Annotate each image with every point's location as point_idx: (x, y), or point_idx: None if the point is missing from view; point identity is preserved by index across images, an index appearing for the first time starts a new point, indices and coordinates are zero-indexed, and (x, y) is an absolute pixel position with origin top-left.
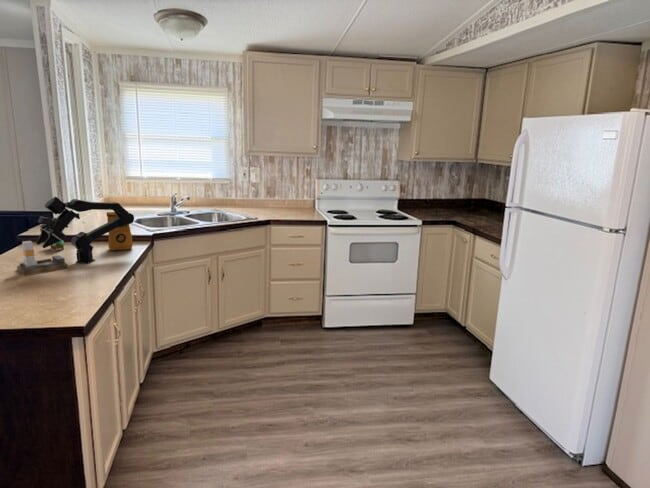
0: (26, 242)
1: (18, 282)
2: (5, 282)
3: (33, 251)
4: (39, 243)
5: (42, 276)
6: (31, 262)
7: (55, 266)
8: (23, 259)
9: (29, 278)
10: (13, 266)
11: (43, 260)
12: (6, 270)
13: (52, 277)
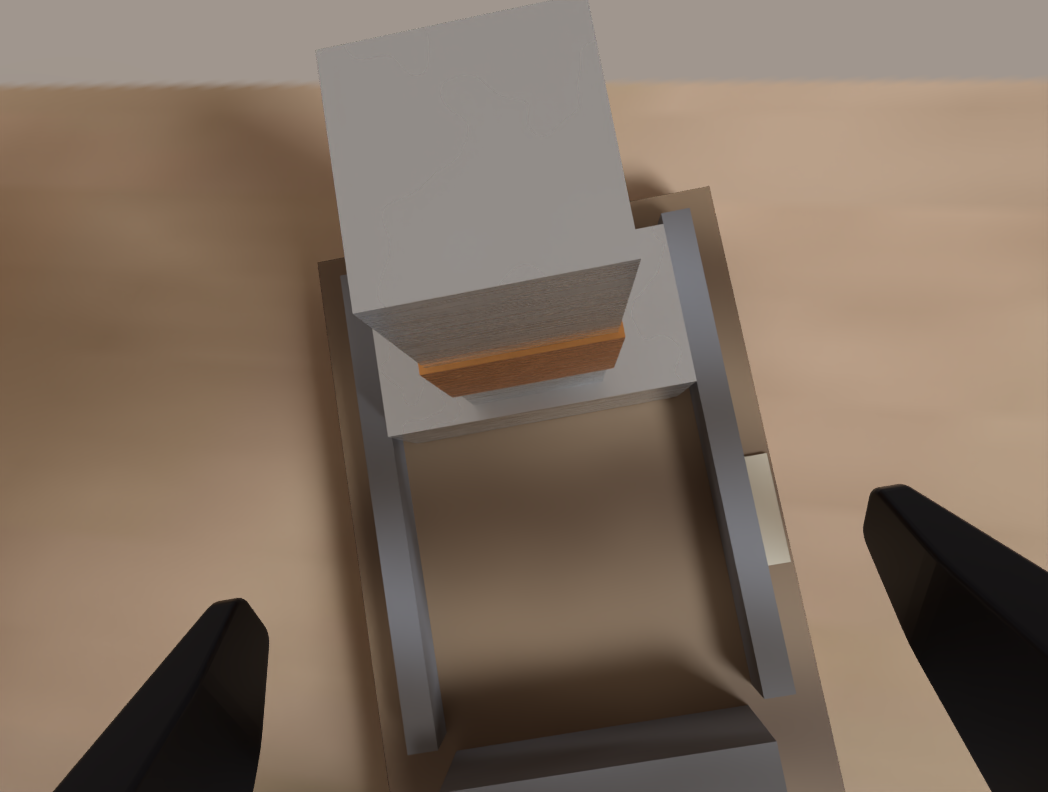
0: (342, 123)
1: (59, 207)
2: (146, 85)
3: (434, 378)
4: (893, 584)
5: (161, 472)
6: (377, 350)
7: (376, 692)
8: (661, 241)
9: (160, 325)
10: (932, 172)
11: (731, 563)
12: (735, 92)
13: (38, 578)
